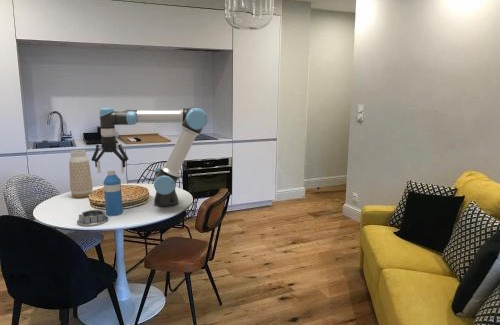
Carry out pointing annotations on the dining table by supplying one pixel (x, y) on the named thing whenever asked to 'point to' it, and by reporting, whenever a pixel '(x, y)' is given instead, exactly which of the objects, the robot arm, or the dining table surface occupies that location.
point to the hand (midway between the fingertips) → (111, 172)
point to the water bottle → (113, 194)
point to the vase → (80, 174)
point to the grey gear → (92, 218)
